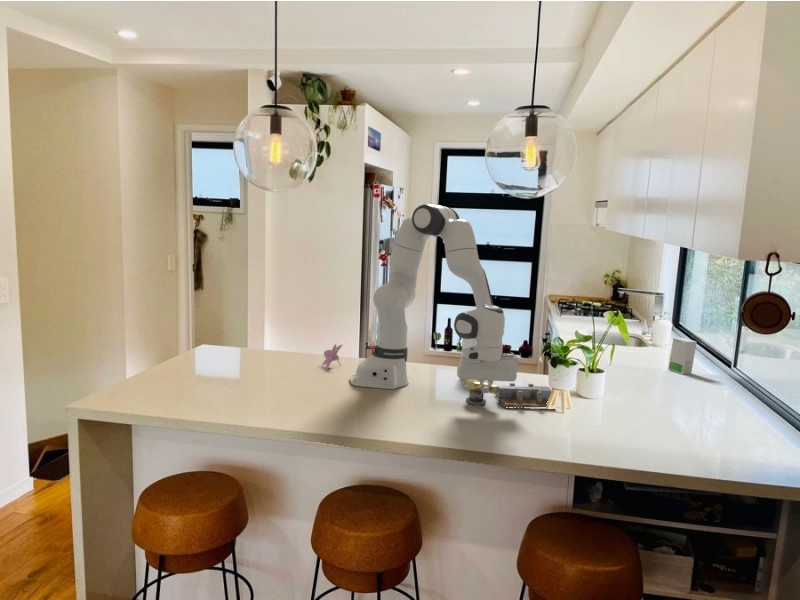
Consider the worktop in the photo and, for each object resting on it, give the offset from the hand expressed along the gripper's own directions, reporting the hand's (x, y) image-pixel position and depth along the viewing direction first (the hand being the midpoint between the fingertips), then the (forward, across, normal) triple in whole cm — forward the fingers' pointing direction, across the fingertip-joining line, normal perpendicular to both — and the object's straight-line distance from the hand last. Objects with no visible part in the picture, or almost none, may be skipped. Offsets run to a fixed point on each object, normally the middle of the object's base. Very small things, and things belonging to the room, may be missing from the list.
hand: (485, 392), depth 195 cm
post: (+6, +1, -6) cm, 8 cm away
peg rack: (+5, -17, -7) cm, 19 cm away
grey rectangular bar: (+4, -16, -7) cm, 18 cm away
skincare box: (+5, -108, -62) cm, 125 cm away
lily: (+6, +54, -47) cm, 72 cm away
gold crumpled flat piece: (0, 0, -4) cm, 4 cm away
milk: (+6, -3, -39) cm, 40 cm away
